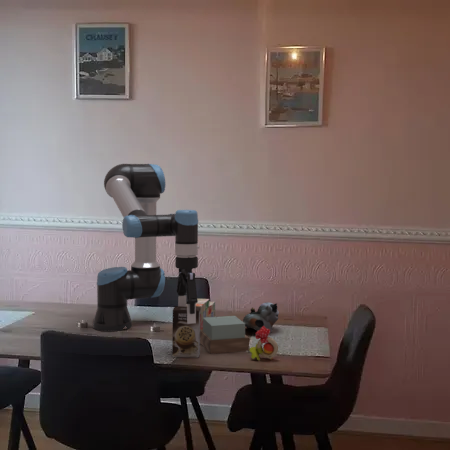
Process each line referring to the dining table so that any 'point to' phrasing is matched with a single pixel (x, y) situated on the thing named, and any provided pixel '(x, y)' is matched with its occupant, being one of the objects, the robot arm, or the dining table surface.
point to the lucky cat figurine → (262, 317)
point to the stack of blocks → (205, 309)
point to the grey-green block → (223, 327)
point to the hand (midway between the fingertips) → (186, 318)
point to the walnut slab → (224, 344)
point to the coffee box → (185, 334)
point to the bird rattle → (268, 348)
